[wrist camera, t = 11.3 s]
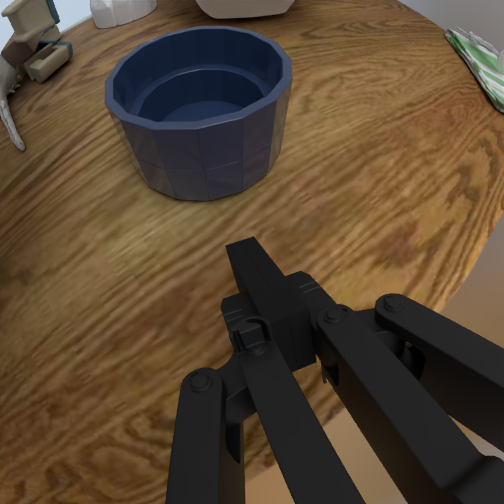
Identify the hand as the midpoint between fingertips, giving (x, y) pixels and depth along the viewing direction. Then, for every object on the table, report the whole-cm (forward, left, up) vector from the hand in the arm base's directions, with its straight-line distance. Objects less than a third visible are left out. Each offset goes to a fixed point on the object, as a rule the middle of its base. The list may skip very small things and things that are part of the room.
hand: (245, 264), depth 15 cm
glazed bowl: (+7, +10, -4) cm, 13 cm away
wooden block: (+1, +40, +2) cm, 40 cm away
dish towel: (+57, -12, -4) cm, 58 cm away
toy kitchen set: (0, +44, +3) cm, 45 cm away
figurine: (+58, -11, +1) cm, 59 cm away
